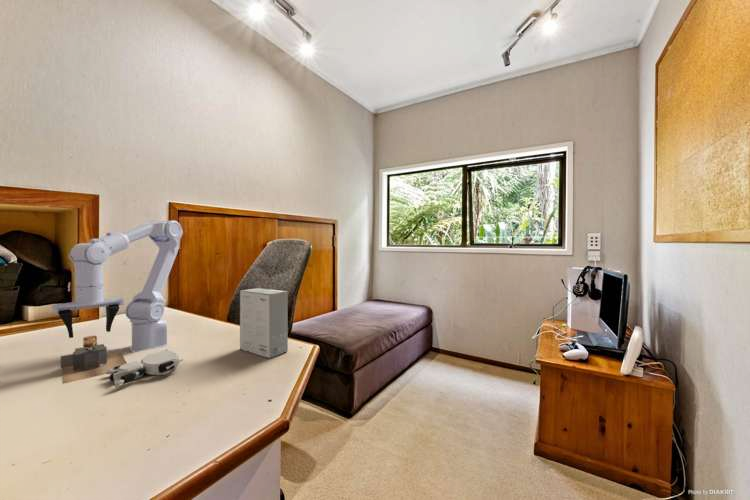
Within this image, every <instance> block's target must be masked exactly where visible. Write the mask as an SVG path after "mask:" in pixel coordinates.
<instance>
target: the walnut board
mask: <svg viewBox="0 0 750 500" xmlns="http://www.w3.org/2000/svg"><path fill="white" fill-rule="evenodd" d="M124 364H127V361H126V358H125V357H124V355H123V353H122V351H117V352H113V353H107V363H106V364H105V365H103V366H101V367H98V368H95V369H90V370H84V371H75V370H73V366H69V367H64V368H61V369H62V371H61V372H62V374H61V375H62V384H63V385H64V384H68V383H73V382H76V381H82V380H85V379H89V378H93V377H94V378H95V377H99V376H102V375H107V374H106V372H107V371H108V370H110V369H114V367H117V366H121V365H124Z"/></svg>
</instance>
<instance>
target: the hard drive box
mask: <svg viewBox="0 0 750 500" xmlns="http://www.w3.org/2000/svg"><path fill="white" fill-rule="evenodd" d="M288 292H289V291H287V290H280V289H278V290H277V289H271V288H262V287H260V288H259V287H256V288H250V289H249V288H248V289H242V290H239V346H240V347H239V349H240V350H241V349H242V350H243V351H244V352H247V351H249V352H248V353H251V354H255V355H258V356H261V357H264V358H266V359H267V358H268V359H271V358H274V357H276V356H279V355H282V354H284V352H285V353H288V351H289V350H288V345H289V339H288V337H289V336H288V333H289V332H288V329H289V327H288V326H289V325H288V318H289V317H288V314H289V313H288V311H289V310H288V305H289V304H288V301H289V300H288V299H289V298H288V297H289V296H288V295H289V294H288ZM242 350H241V351H242Z"/></svg>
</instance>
